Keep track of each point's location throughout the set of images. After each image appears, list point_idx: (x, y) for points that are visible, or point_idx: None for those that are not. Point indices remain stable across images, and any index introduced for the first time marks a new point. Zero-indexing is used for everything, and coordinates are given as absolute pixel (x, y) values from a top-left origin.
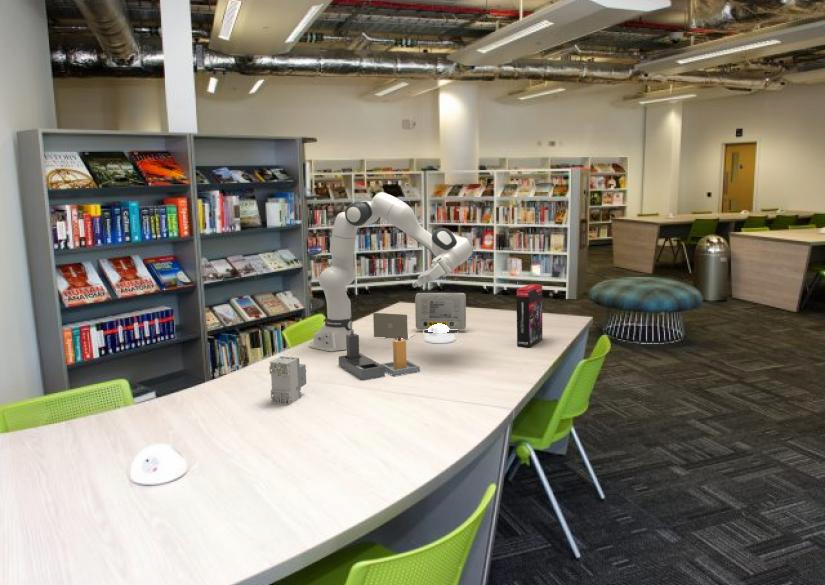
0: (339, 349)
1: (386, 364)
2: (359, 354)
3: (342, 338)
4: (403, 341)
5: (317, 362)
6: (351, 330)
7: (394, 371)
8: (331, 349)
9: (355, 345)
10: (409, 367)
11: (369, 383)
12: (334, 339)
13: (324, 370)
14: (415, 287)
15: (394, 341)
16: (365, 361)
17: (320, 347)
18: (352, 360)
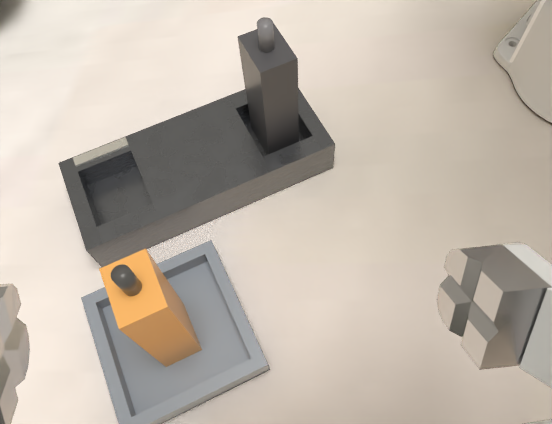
0: (514, 79)
1: (211, 267)
2: (310, 143)
3: (549, 55)
4: (113, 312)
5: (338, 33)
6: (257, 23)
7: (83, 302)
8: (497, 52)
9: (256, 95)
10: (118, 377)
11: (29, 211)
12: (528, 30)
13: (232, 62)
14: (441, 317)
15: (126, 257)
16: (191, 171)
17: (524, 15)
18: (217, 122)
